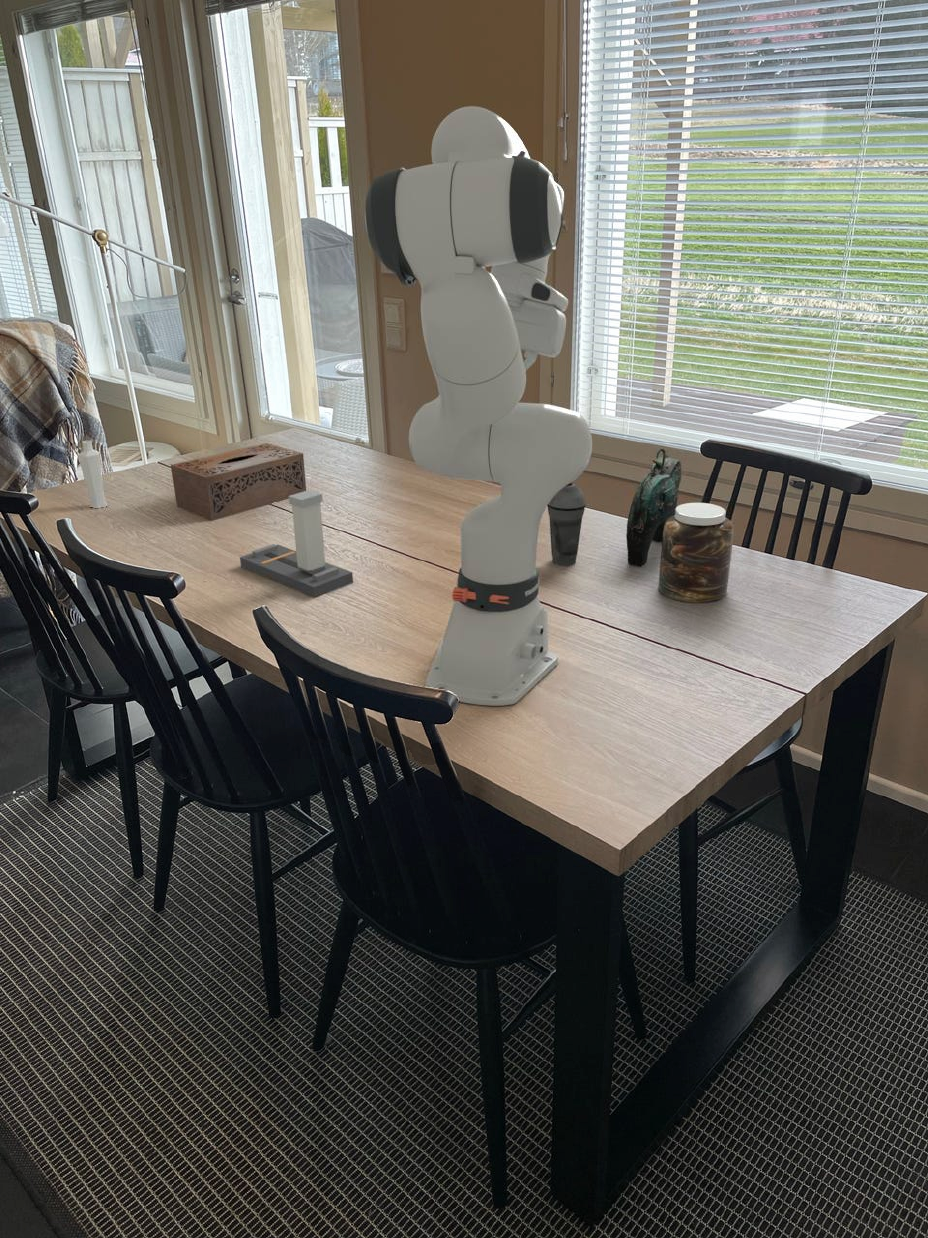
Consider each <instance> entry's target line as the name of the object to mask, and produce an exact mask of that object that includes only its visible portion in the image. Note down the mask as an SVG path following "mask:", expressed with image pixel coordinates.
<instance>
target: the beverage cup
mask: <svg viewBox="0 0 928 1238" xmlns="http://www.w3.org/2000/svg"><path fill="white" fill-rule="evenodd" d="M585 500H586V499H585V495H584V492H583V491H582V489H581V488H580V487H579V486H578V485H577V484H576V483H572V482H571V483H569V484H568V485H566V486H565V487H564V488H562V489H561V490H560V491H559V492H558V493H557V494H556V495H555V496H554V497H553V498H552V500H551V501H550V502H549V504H548V505H547V513H548V516H549V528H550V529H549V533H550V534H549V535H550V549H551V558H552V560H551V562H552V563H553V564H554V565H556V566H560V567H570V566H573V565H575V564H576V563H577V557H578V552H579V551H578V550H579V544H580V536H581V528H582V522H583V516H584V513H585V508H586V501H585Z"/></svg>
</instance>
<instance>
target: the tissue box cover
mask: <svg viewBox="0 0 928 1238" xmlns="http://www.w3.org/2000/svg"><path fill="white" fill-rule="evenodd" d="M170 468H171V469H170V470H171V475H172V476H171V477H172V483H173V490H174V496H175V504H176V507H177V506H178V507H177V508H179V507H180V508H179V509H181V508H182V510H183V511H186V510H187V512H189V513H192V514H194V515H197V516H198V517H201V518H204V519H207V520H209V521H213V522H214V521H215V520H219V519H223V518H227V517H230V516H234V515H237V514H240V513H244V512H247V511H251V510H254V509H258V508H262V507H265V506H269V505H272V503H273V504H275V503H274V502H276V503H278V502H282V501H286V500H289V496H291V495H294V494H297V493H301V492H304V491H307V486H306V485H307V484H306V482H307V481H306V471H305V460H304V452H300V451H297V450H293V449H290V448H286V447H283V446H279V445H276V444H271V443H269V442H264V443H260V444H254V445H251V446H246V447H242V448H239V449H234V450H230V451H229V450H228V451H226V452H220V453H215V454H213V455H208V456H207V455H206V456H203V457H199V458H194V459H190V460H187V461H183V462H182V461H181V462H178V463H173V464H170Z"/></svg>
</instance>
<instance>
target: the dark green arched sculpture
mask: <svg viewBox="0 0 928 1238" xmlns="http://www.w3.org/2000/svg"><path fill="white" fill-rule="evenodd" d="M661 452H662V455H663V457H659V455H660V453H661ZM655 457H656V459H652V463H653V464H652V466H651V468H650V471H649V472H648V473H647V474H646V475H645V476H644V478H643V480H641V482H640V484H638V486H637V488H636V490H635V493H634V495H633V499H632V502H631V505H630V509H629V514H628V517H627V522H626V523H627V524H626V547H627V549H626V550H627V564H628V565H629V566H634V567H639V568H642V567H644V566H645V565H646V563H647V562H648V556H649V550H650V548H651V544H652V541H653V542H654V543H659V544H660V543H661V544H662V540H663V531H664V525H665V521H666V520H667V518H668V517H670V516H672V515H675V509H676V507H677V506H678V505H677V504H678V499H679V489H680V483H681V482H682V481H681V480H682V462H681V461H680V460H679V459H677V458H676V459H675V458H671V457H670V456H669V454H668V452H667V450H665V449H663V448H658V450H656V453H655Z"/></svg>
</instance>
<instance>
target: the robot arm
mask: <svg viewBox="0 0 928 1238" xmlns="http://www.w3.org/2000/svg"><path fill="white" fill-rule="evenodd" d="M430 153H431V154H430V155H431V162H432V163H431V164H425V165H420V166H417V167H413V168H408V169H406V168H405V167H398V168H394V169H392V170H389V171H386V172H383V173H381V174H380V175H378V176H376V177H374V179H373V180H372V182H371V184H370V186H369V188H368V190H367V193H366V199H365V211H364V220H365V221H364V222H365V228H366V232H367V237H368V240H369V244H370V247H371V250H372V251H373V253H374V254H375V255H376V257H377V258H378V259H379V260H380V263H382V264H383V266H384V267H386V269H388V270H389V271H390V272H392V273H393V274H395V275H396V276H397V278H398V280H399V281H400V283H401V285H403V286H406V287H409V288H412V287H414V285H415V284H416V283H417V281H418V283H419V285H420V288H421V297H420V317H421V328H422V334H423V340H424V344H425V348H426V352H427V355H428V357H427V358H428V361H429V363H430V365H431V368H432V372H433V375H434V378H435V382H436V385H437V386H436V387H437V390H438V395H437V397H436V398H435V399H433V400H431V401H430V402H429V401H428V402H427V403H425V404H423V405H422V406H421V408H419V409H418V410H417V412H416V414H415V415H414V416H413V418H412V421H411V423H410V427H409V429H408V430H409V431H408V444H409V450H410V454H411V455H412V458H413V460H414V461H415V463H416V465H417V466H418V467H419V469H420V470H422V471H425V472H429V473H432V474H434V475H439V476H444V477H445V478H446V477H447V478H450V479H456V480H470V481H482V482H483V481H484V482H495V483H498V484H500V487H501V488H500V489H501V490H500V495H499V496H497V497H496V498H493V499H490V500H488V501H485V502H483V503H481V504H478V505H477V506H475V507H473V508H472V509H471V510H469V512H468V513H467V514H466V515H465V516H464V518H463V520H462V523H461V526H460V548H461V549H460V561H461V562H460V568H459V570H458V576H457V579H456V587H454V588H453V590H452V596H451V597H452V600H453V605H452V609H451V611H450V615H449V618H448V622H447V626H446V628H445V631H444V632H445V633H444V636H443V639H441V640H440V644H439V645H438V648H437V651H436V653H435V656H434V659H433V661H432V663H431V666H430V669H429V671H428V674H427V677H426V679H425V683H424V687H425V686H427V687H433V688H438V689H444V690H449V691H451V692H453V693H454V694H456V695H457V697H458V698H459V700H460V702H459V703H464V704H465V703H466V704H469V705H470V704H472V705H477V706H478V705H480V706H494V707H495V706H496V707H497V706H508V705H509V706H510V705H514V704H516V703H518V702H519V701H520V700H521V699H522V698H523V697H524V696H525V695H527V694H528V692H529V691H531V690H532V689H533V688H534V687H535V686H536V685H537V684H539V682H540V681H541V680H543V678H544V677H546V675H548V674H549V672H551V671H552V670H553V669H554V668H555V667H556V666H557V665H558V664H559V659H558V655H557V654H555V653H554V652H552V651H550V650H549V628H548V627H549V624H548V623H549V622H548V611H547V610H546V608H545V607H544V606H543V605H542V603H541V602H540V600H539V598H538V595H539V586H540V577H539V569H538V568H537V552H538V551H537V548H538V538H539V530H540V525H541V522H542V521H541V520H542V519H543V515H544V513H545V511H546V510H547V509H546V508H548V506H547V505H548V504H549V502H550V501H551V500H552V498H553V497H554V496H555V495H556V494H557V493H558V492H559V491H560V490H561V489H562V488H564V487H565V486H566V485H568V484H569V483H572V482H574V481H575V480H576V479H578V478H579V477H580V476H581V475H582V474H583V472H584V471H585V469H586V468H587V466H588V464H589V462H590V459H591V455H592V453H593V452H592V451H593V438H592V433H591V429H590V427H589V424H588V422H587V421H586V419H585V418H584V416H583V415H582V414H581V413H580V412H579V411H576V410H573V409H569V408H567V407H566V408H565V407H561V406H557V405H555V404H554V405H553V404H549V403H537V402H536V403H532V402H520V401H521V398H522V397H523V396H524V392H525V390H526V384H527V375H526V374H527V370H528V369H530V367H531V366H532V365H533V364H534V363H536V361H537V358H538V355H541V356H545V357H549V358H553V359H554V358H556V357H557V356H558V355H559V354H560V353H561V351H562V348H563V344H564V341H565V334H566V328H567V317H566V315H565V313H563V312H565V311H566V310H567V308H568V305H569V299H568V298H567V297H566V296H564V295H563V294H562V293H561V292H559V291H558V290H556V289H555V287H553V286H552V285H550V284H548V283H546V278H547V275H548V263H549V259H550V256H551V254H552V252H554V251H555V250H556V249H557V246H558V242H559V239H560V235H561V233H562V228H563V224H564V217H563V211H564V210H563V209H564V200H565V192H564V190H563V188H562V187H561V186H560V185H559V183H557V182H556V181H555V180H554V177H553V174H552V172H551V171H550V170H549V169H548V168H547V167H546V166H545V165H544V164H543V163H541V162H540V161H538V160H536V159H532V158H531V157H530V155H529V151H528V150H527V148H526V147H525V145H524V143H523V140H521V138H520V137H519V135H518V133H517V132H516V131H515V130H514V128H513V127H512V126H511V125H510V124H509V123H508V122H507V121H506V120H504V119H503V118H502V117H501V116H500V115H498V114H497V113H495V112H493V111H491V110H489V109H487V108H484V107H482V106H481V107H480V106H475V105H474V106H473V105H472V106H471V105H470V106H469V105H468V106H463V107H460V108H457V109H455V110H453V111H452V112H451V113H449V114H448V115H446V116H445V118H444V119H443V120H442V121H441V122H440V123H439V125H438V127H437V128H436V131H435V133H434V135H433V138H432V142H431V152H430ZM486 267H491V269H490V271H488V270H487V269H486ZM522 351H524V355H523V354H522ZM523 357H524V358H526V359H523Z"/></svg>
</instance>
